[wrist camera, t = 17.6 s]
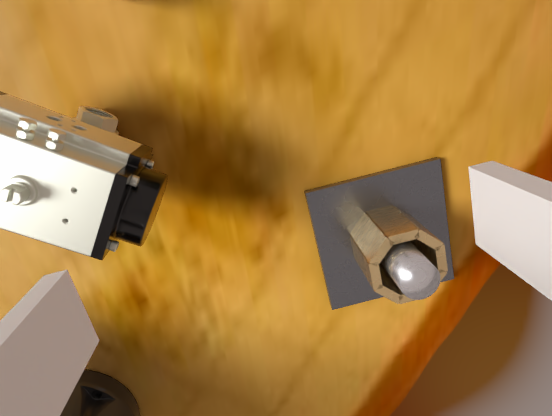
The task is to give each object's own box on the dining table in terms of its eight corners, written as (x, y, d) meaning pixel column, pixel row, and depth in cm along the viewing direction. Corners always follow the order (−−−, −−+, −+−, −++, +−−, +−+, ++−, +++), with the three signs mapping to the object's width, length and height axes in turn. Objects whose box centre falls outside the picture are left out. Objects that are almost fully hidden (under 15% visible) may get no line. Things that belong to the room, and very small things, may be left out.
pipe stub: (330, 305, 54) (354, 367, 43) (304, 190, 49) (323, 227, 38) (450, 275, 54) (505, 329, 43) (436, 157, 49) (494, 183, 38)
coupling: (357, 275, 52) (377, 309, 45) (345, 216, 50) (364, 243, 42) (419, 258, 52) (450, 291, 45) (411, 199, 50) (441, 222, 42)
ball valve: (188, 139, 46) (158, 178, 29) (164, 207, 49) (124, 280, 32) (19, 74, 43) (-124, 77, 26) (2, 151, 45) (-140, 198, 28)
